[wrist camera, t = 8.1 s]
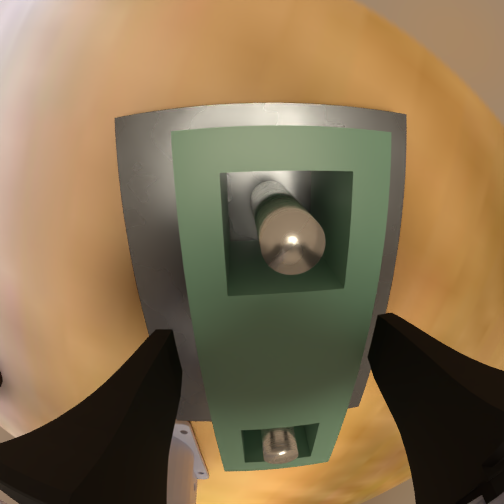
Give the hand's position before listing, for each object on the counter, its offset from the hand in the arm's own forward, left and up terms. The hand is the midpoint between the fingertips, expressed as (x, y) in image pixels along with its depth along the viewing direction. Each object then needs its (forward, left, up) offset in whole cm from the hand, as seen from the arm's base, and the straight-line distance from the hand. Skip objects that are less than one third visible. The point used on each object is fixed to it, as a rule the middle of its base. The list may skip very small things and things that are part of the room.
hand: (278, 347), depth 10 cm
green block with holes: (0, 0, -3) cm, 3 cm away
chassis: (0, 0, -4) cm, 4 cm away
